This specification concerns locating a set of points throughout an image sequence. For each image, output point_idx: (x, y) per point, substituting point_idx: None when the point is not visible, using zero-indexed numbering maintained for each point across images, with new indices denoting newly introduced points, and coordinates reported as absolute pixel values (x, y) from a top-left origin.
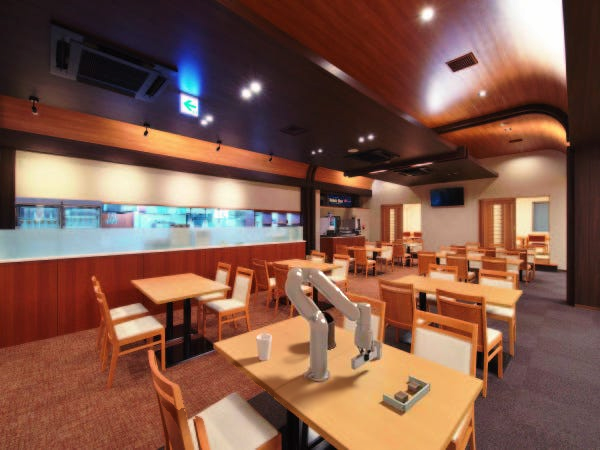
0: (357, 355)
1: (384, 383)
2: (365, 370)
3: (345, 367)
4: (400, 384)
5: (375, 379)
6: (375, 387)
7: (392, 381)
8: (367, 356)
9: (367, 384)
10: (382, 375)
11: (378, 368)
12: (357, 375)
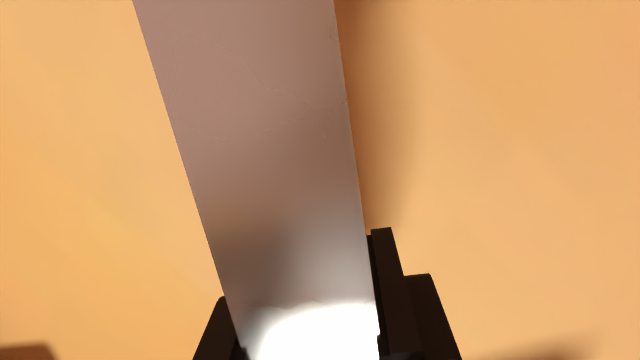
0: (335, 144)
1: (93, 206)
2: (375, 225)
3: (591, 68)
4: (40, 301)
5: (186, 186)
6: (52, 71)
7: (100, 285)
8: (198, 352)
9: (133, 32)
10: (216, 288)
11: None
12: (349, 69)
